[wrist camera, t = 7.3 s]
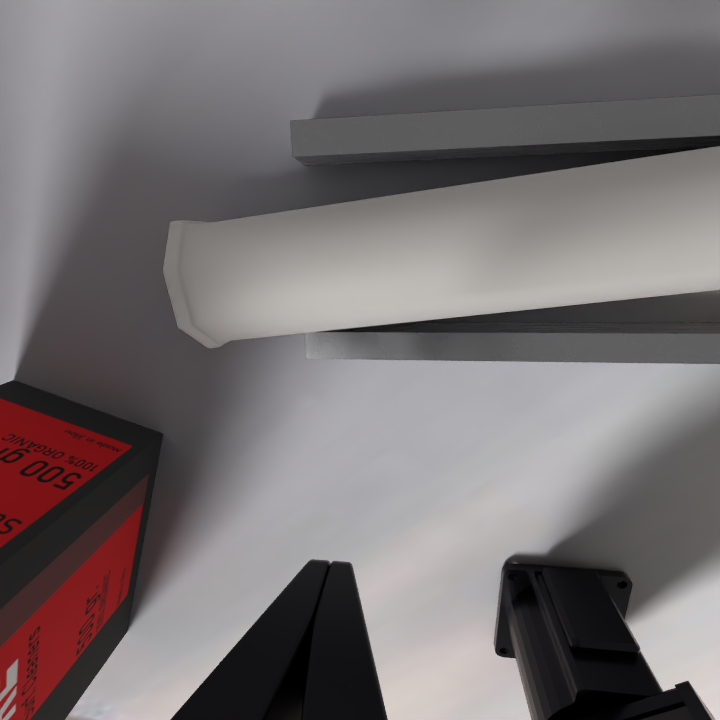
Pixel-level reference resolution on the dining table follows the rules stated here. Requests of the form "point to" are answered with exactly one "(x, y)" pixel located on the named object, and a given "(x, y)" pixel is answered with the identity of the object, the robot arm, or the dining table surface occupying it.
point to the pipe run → (515, 138)
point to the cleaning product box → (66, 544)
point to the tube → (453, 251)
